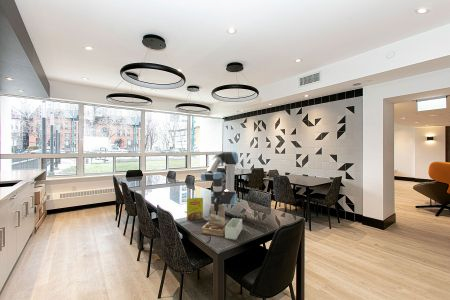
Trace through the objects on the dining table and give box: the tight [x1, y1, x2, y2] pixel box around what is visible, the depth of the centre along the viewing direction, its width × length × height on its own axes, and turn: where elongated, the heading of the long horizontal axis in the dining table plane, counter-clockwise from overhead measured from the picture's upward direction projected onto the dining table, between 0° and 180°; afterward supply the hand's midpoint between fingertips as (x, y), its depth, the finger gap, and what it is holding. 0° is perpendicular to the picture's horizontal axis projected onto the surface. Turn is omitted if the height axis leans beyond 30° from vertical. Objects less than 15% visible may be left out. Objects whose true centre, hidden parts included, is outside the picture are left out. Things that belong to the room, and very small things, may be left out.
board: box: [210, 203, 226, 226], centre depth 181 cm, size 2×12×18 cm, turn 72°
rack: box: [200, 221, 228, 237], centre depth 177 cm, size 16×19×4 cm
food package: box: [186, 197, 204, 220], centre depth 206 cm, size 15×1×20 cm, turn 106°
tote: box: [224, 217, 243, 240], centre depth 171 cm, size 21×9×9 cm, turn 162°
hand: (217, 218), depth 181 cm, fingers closed on board, 2 cm apart
